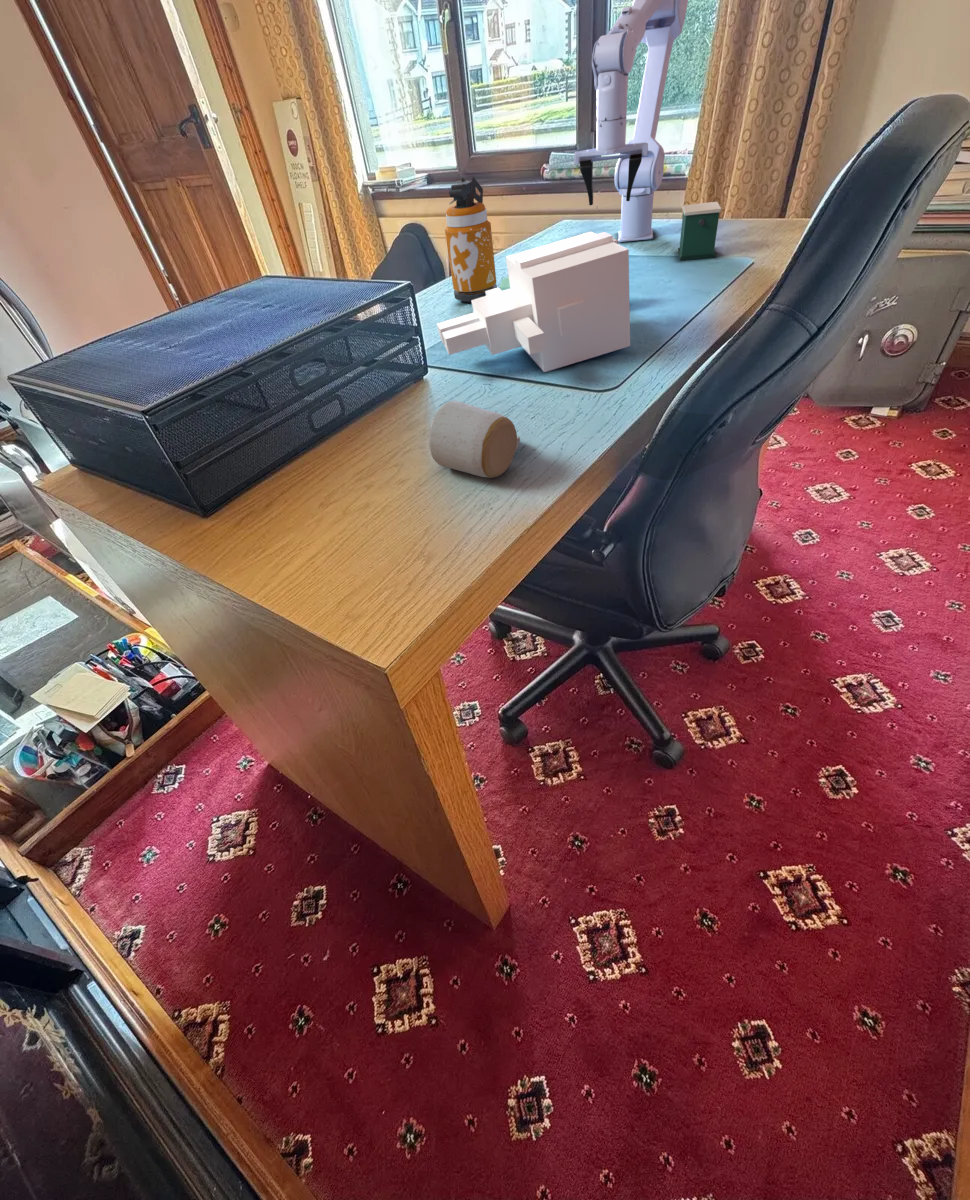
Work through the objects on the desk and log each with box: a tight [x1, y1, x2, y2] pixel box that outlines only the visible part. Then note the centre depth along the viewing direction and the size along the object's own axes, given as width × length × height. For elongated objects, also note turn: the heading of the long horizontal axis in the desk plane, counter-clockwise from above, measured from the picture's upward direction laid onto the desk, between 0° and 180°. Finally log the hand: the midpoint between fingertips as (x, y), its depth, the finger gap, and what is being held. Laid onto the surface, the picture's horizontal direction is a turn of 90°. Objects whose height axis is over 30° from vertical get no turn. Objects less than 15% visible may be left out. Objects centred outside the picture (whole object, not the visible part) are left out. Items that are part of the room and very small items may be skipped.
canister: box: [444, 176, 498, 304], centre depth 111 cm, size 9×11×20 cm
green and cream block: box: [677, 201, 722, 262], centre depth 117 cm, size 9×8×7 cm
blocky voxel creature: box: [436, 230, 631, 373], centre depth 87 cm, size 15×25×28 cm
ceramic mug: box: [428, 400, 521, 479], centre depth 66 cm, size 11×8×8 cm
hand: (609, 202), depth 120 cm, fingers open, 7 cm apart
